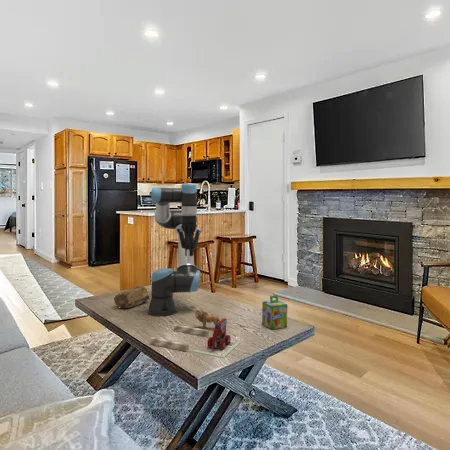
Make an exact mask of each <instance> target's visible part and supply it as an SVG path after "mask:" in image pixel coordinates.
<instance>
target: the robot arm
mask: <svg viewBox="0 0 450 450" xmlns="http://www.w3.org/2000/svg"><path fill="white" fill-rule="evenodd" d="M180 186H181V187H174V188H173V187H154V188H151V202H152V203H154V204H155V212H154V220H155V221H156V223H157V224H158V225H159V226H160V227H162V228H164V229H166V230H167V229H168V230H174V231H175V233H176V234H177V242H178V243H177V244H178V245H177V246H178V248H177V249H178V266H177V268H176V271H174V270H173V268H168V267H167V268H166V267H165V268H161V269H156V270H154V271H153V272H152V273H151V278H150V279H151V280H150V282H151V299H150V302H149V306H148V310H147V311H148V314H149V315H151V316H156V317H163V316H164V317H165V316H170V315H174V314H176V312H177V305H176V302H175V299H174V294H175V293H177V294H178V293H196V292H198V291H199V289H200V282H201V271H200V270H198V267H197V265H195V258H194V257H195V256H194V250H195V249H197V248H198V244H199V240H200V236H201V235H200V234H201V233H202V229H200V228H198V225H197V223H198V219H197V218H198V215H197V214H198V213H197V212H198V210H197V209H198V208H197V205H198V203H197V202H198V200H197V199H198V195H197V194H198V193H197V192H198V188H197V184H196V183H182V184H181V185H180ZM177 203H178V204H181V210H180V209H179V210H178V209H173V210H172V209H170V208H171V207H170V205H171V204H177Z"/></svg>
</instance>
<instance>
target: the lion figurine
mask: <svg viewBox="0 0 450 450" xmlns="http://www.w3.org/2000/svg"><path fill="white" fill-rule="evenodd" d="M194 313H195V314H194V317H195V318H196V319H197V320H199V322H201V323H202V327H201V329H204V330H205V329H206V326H207V323H209V324H211V323H213V324H214V326H215V325H216V324H218V322H220V321H221V320H220V318H219V316H218V315H216V314H215V315H210V314H208V312H206V311H204V310H203V309H201V308H198V309H196V310H195V312H194Z"/></svg>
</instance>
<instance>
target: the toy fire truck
mask: <svg viewBox="0 0 450 450" xmlns="http://www.w3.org/2000/svg"><path fill="white" fill-rule="evenodd" d="M208 337H209V338H208V339H207V343H206V344H207V347H208V348H214V349H216V348H217V347H219V349H220V350H224V349H226V346H229V345H230V344H231V343H230V341H232V339H231V338H232V337H231V335H229V334H227V318H222V319H221V320H220V322H219V321H218V324H216V325H215V324H214V329H213V332H212V336H208Z"/></svg>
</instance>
